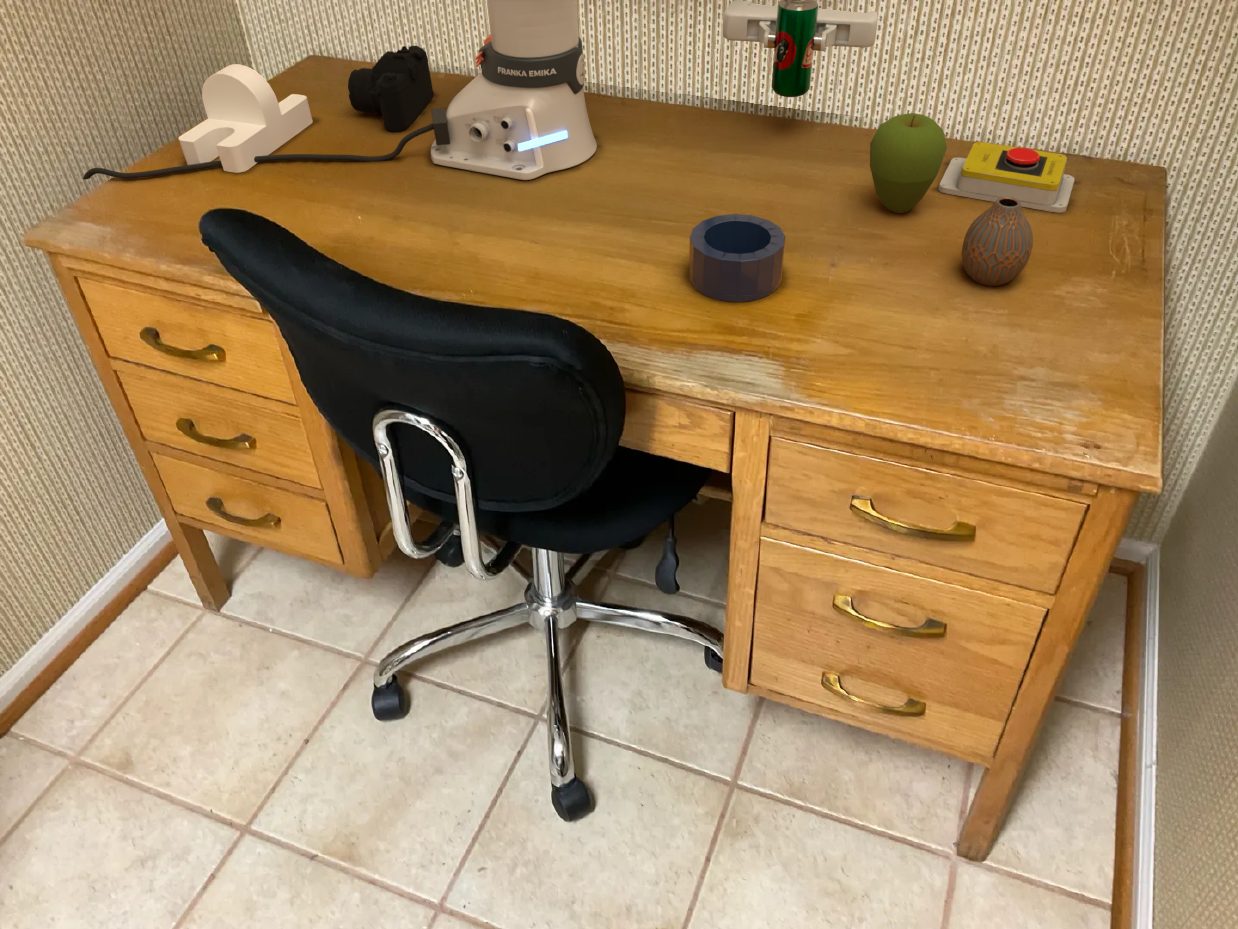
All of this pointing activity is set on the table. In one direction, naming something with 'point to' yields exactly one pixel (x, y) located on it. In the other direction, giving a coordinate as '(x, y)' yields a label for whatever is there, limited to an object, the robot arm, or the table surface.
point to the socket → (736, 257)
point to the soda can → (794, 47)
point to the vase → (998, 243)
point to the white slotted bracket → (242, 120)
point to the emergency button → (1010, 176)
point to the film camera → (393, 87)
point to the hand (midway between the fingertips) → (794, 43)
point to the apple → (906, 159)
